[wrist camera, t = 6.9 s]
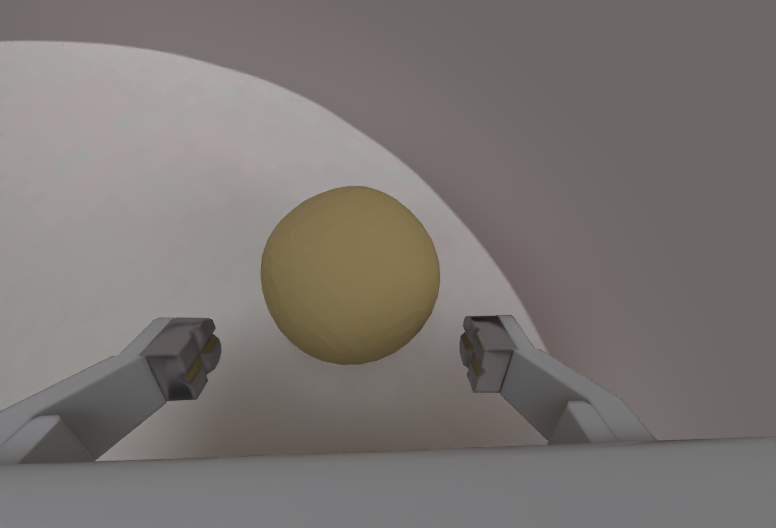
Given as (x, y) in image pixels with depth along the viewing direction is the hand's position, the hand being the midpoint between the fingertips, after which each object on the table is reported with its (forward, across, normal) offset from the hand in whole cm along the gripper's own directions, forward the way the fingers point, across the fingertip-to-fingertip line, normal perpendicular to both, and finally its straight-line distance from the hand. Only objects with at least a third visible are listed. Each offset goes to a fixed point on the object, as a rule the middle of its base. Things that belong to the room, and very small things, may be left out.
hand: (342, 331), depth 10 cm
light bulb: (+7, 0, +4) cm, 8 cm away
